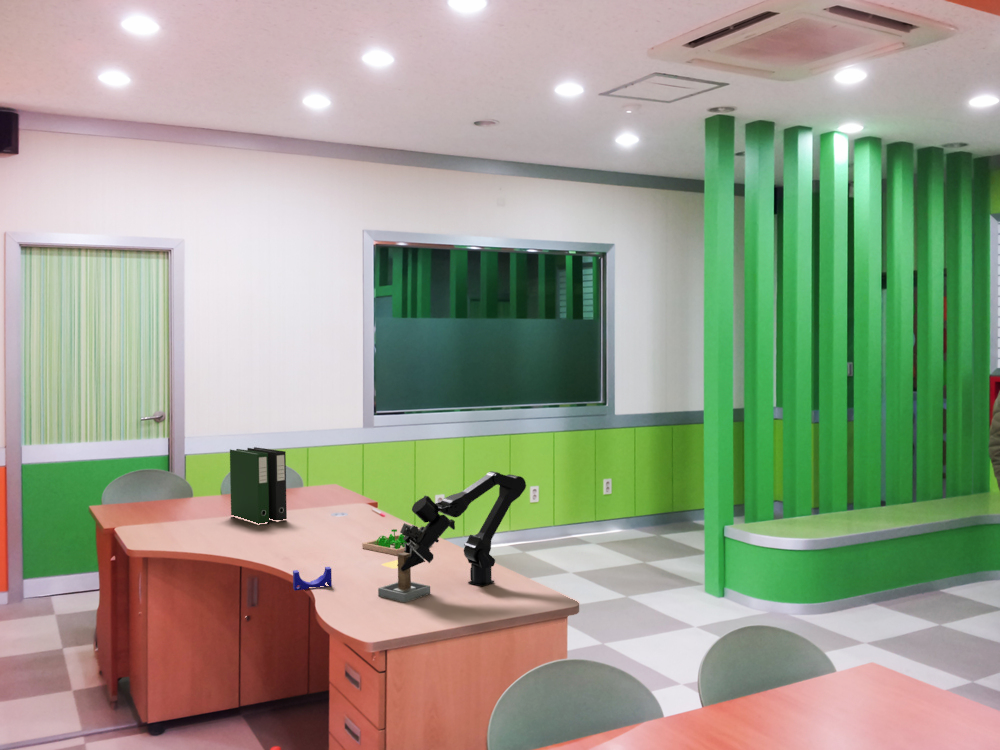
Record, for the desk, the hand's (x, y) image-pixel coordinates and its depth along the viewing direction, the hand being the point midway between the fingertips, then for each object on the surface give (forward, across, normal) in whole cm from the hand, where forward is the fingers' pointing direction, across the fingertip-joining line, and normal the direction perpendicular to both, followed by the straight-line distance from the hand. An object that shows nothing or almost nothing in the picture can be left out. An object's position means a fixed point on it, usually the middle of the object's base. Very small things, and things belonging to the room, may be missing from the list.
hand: (399, 568), depth 269 cm
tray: (+5, 0, +7) cm, 9 cm away
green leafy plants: (-3, -67, +16) cm, 69 cm away
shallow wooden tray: (-4, -65, +16) cm, 67 cm away
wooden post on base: (+5, 0, +7) cm, 8 cm away
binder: (+30, -145, -18) cm, 150 cm away
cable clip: (+24, -21, -11) cm, 34 cm away
